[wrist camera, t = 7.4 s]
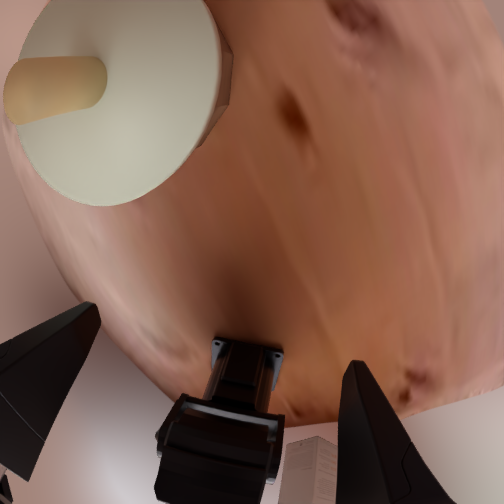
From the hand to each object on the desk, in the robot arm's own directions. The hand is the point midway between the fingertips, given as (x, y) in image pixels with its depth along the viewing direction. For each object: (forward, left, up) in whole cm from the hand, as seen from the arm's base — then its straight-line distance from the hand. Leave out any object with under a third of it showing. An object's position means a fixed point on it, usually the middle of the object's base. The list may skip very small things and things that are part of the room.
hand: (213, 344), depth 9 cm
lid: (+8, +9, -8) cm, 15 cm away
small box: (-34, -12, -12) cm, 38 cm away
